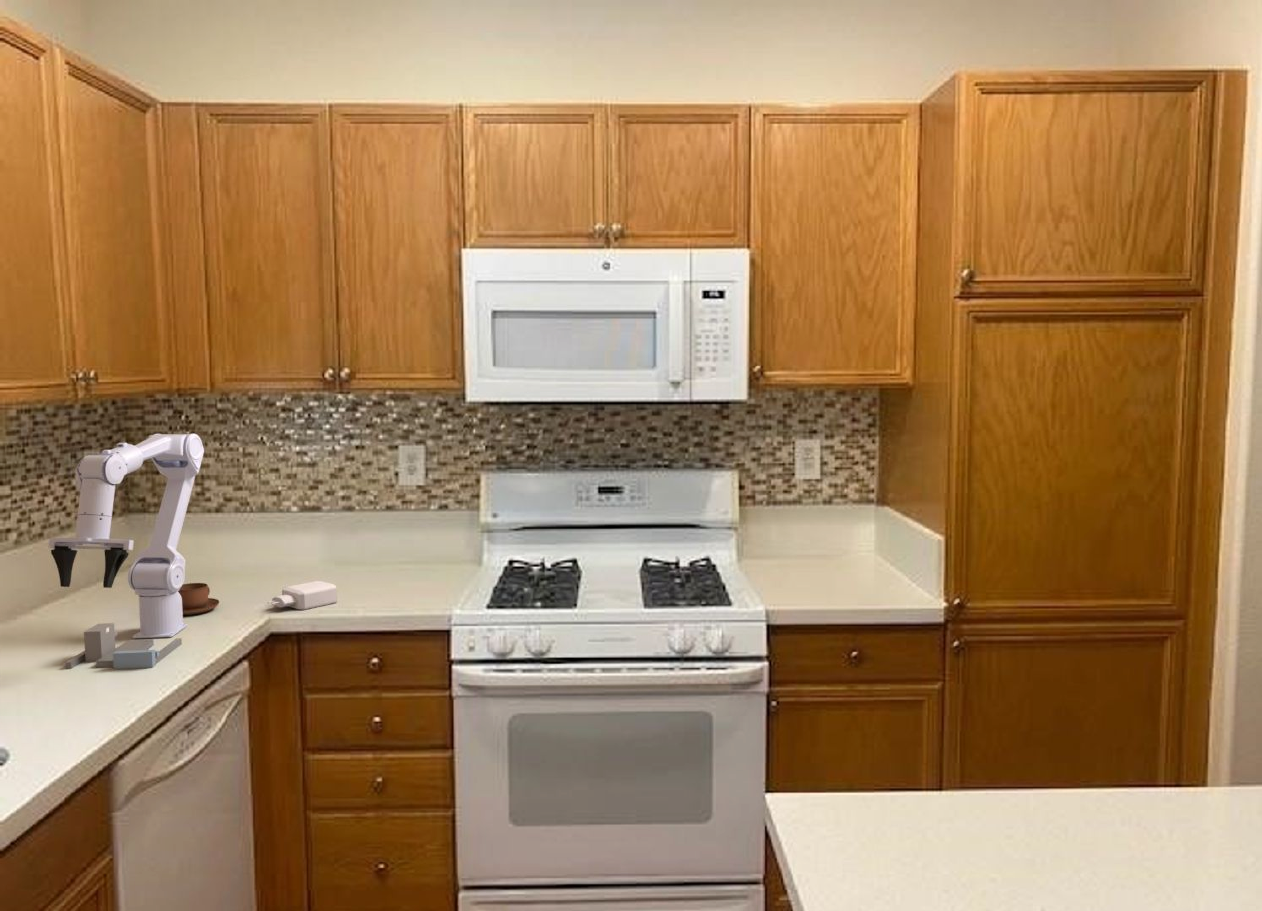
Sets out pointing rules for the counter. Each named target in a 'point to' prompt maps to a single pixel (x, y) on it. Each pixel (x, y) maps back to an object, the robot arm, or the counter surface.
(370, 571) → the counter surface
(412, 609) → the counter surface
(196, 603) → the cup and saucer
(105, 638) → the tall taupe box
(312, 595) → the charger
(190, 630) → the counter surface
